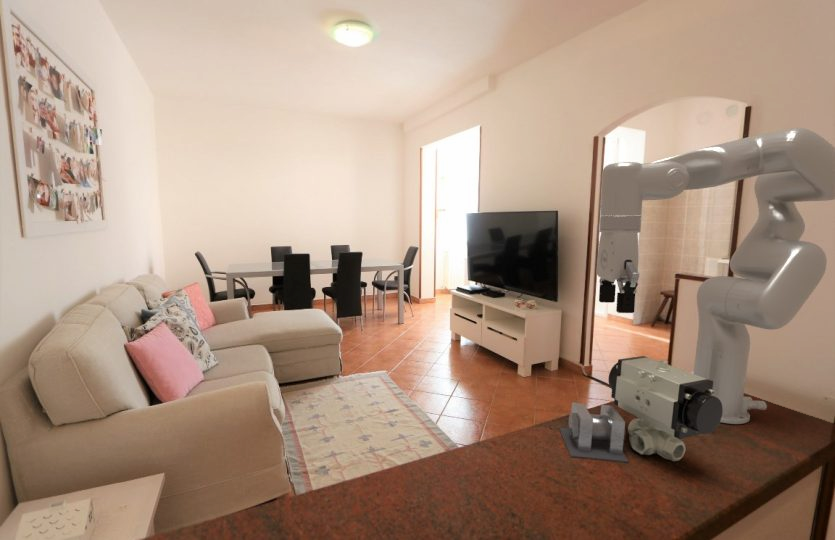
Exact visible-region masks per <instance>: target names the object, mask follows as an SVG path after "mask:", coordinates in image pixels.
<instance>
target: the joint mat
mask: <svg viewBox="0 0 835 540" xmlns="http://www.w3.org/2000/svg"><path fill="white" fill-rule="evenodd" d="M559 432H560V435H561V437H562V439H563V441H564V444H565V447H566V449H567V452H568V454H569V456H570V458H577V459H587V460H588V459H589V460H596V461H606V462H619V463H626V464H629V459H628V458H627V456H626V455H625V453H624V452H623V451H622V455H616V454H609V452H608V450H607V449H606V447H605V445H604V444H603V442H601V441H591V451H590V452H585V451H578V449H577V447H576V445H575V443H574V441H573V439H572V438H571V436H570V432H569V428H565V427H559Z"/></svg>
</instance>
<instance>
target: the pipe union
mask: <svg viewBox="0 0 835 540" xmlns="http://www.w3.org/2000/svg"><path fill="white" fill-rule="evenodd" d="M570 411H571V412H570V413H569V416H568V429H569V432H570V436H571V438H572V439H573V441H574V443H575V445H576V447H577V449H578V451H585V452H590V451H591V441H601V442H603V444H604V445H605V447H606V449H607V450H608V452H609V454H616V455H622V452H623V451H624V450H623V448H624V443H625V440H626V421H625V420H624V419H623V417H622V416H621V415H620V413H619V412H618V410H617V409H616V407H614V405H608V404H607V405H605V404H600V414H594V413H593V414H592V413H590V412H589V410H588V409H587V406H586V405H585V403H582V402H571V410H570Z"/></svg>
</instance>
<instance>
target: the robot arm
mask: <svg viewBox="0 0 835 540" xmlns="http://www.w3.org/2000/svg"><path fill="white" fill-rule="evenodd" d="M601 173H602V175H601V191H600V192H601V194H600V195H601V196H600V213H599V215H600V216H599V233H600V237H599V243H598V249H597V258H596V269H595V270H596V271H595V272H596V276H597V277H598V278H599V293H598V296H599V297H598V302H600V303H608V304H609V303H615V301H616V307H615V308H616V309H615V311H616V313H618V314H621V313H622V314H634V313H635V309H636V308H635V306H636V294H637V287H638V286H639V282H638V281H639V278H640V272H639V235H638V233H641V231H642V230H641V227H642V226H641V225H642V213H643V212H642V211H643V201H659V200H660V201H661V200H662V201H663V200H668V199H673V198H676V197H677V196H679V195H680V194H682V193H683V192H684V191H687V190H688V191H689V190H690V191H693V190H702V189H709V188H715V187H718V186H723V185H726V184H730V183H733V182H734V183H735V182H737V181H740V180H745V179H749V178H752V177H756V179H755V181H754V186H753V187H754V194H755V197H756V202H757V208H758V216H757V220H756V222H755V223H754V225H753V227H752V228H751V229H750V230H749V232H748V233H747V234H746V236H745V237H744V238H743V240H742V241H741V242H740V244H739V246H738V247H737V248H736V250H735V251H734V253H733V255H732V256H731V258H730V261H729V267H730V270H731V272H732V273H733V274H734V275H736V276H737V277H735V276H728V275H727V276H726V275H724V276H723V275H721V276H713V277H710V278H707V279H705V280H704V281H703V282H702V283H701V284H700V286H699V287H698V289H697V292H696V306H697V313H698V329H697V330H698V331H697V339H696V340H697V341H696V350H695V357H694V364H693V365H694V367H693V372H692V374H695V375H697V376H700V377H703V378H706V379H708V380H711V381H713V389H712V390H714V394H713V395H712V396H715V397H717V398H718V399H719V400H720V401H721V403H722V407H723V412H722V417H721V420H720V423H722V424H728V425H729V424H730V425H742V424H746V423H749V422H750V420H751V419H750V418H751V414H750V413H749V411H750V410H752V409H754V410H760V411H761V410H762V411H765V410H767V409H768V405H767V403H766V402H765V400H753V398H752V397H751V396H744V395H745V386H746V377H747V370H748V365H749V355H750V350H751V338H750V333H749V331H748V328H747V326H751V327H756V328H759V329H763V330H771V331H772V330H778V329H782V328H783V327H786V326H787V325H788V324H789V323H790V322H792V320H793V319H794V317H796V315H797V314H798V312H799V311H800V310H801V309H802V307H803V306H804V304H805V303H806V302H807V300H808V299H809V298H810V297H811V295H812V294H813V292H814V291H815V289H816V288H817V287H818V286H819V284H820V282H821V281H822V279H823V277H824V276H825V272H826V271H827V270H826V269H827V255H826V253H825V251H824V250H823V248H822V247H821V246H820V245H818V244H816V243H813V242H811V241H806V240H801V238H802V236H803V235H804V233H805V229H806V225H805V224H806V223H805V221H804V219H803V216H802V215H801V213H800V211H799V210H798V208H797V206H796V204H795V203H797V202H801V203H802V202H824V201H825V202H826V201H827V202H828V201H834V200H835V146H834V145H832V144H831V143H830V142H829V141H828V140H827V139H826V138H824V137H822V136H821V135H820V134H818V133H816V132H814V131H813V130H810V129H808V128H805V127H794V128H788V129H781V130H778V131H772V132H768V133H762V134H758V135H753V136H748V137H744V138H739V139H734V140H732V141H729V142H728V141H727V142H724V143H719V144H714V145H711V146H705V147H703V148H699V149H695V150H694V149H693V150H691V151H688V152H685V153H681V154H678V155H674V156H671V157H666V158H661V159H658V160H655V161H654V160H653V161H649V162H645V163H641V162H640V163H639V162H634V161H626V162H625V161H623V162H614V163H610V164H607V165H606V166H605V167H604V168H603V169H602V171H601ZM615 282H616V283H617V287H618V291H619V292H617V293H616V284H615ZM746 325H747V326H746Z"/></svg>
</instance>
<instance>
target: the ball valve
mask: <svg viewBox="0 0 835 540" xmlns="http://www.w3.org/2000/svg"><path fill="white" fill-rule="evenodd" d="M607 381H608V385H609V387H610V389H611V396H610V397H611V398H612V399H614V401H613V402H614V403H613V404H614V405H613V406H616V407H618V408H620V409H622V410H624V411H626V412H627V413H630V414H631V415H633V416H635V417H637V418H633V419H632V420H631V421H630V422H629V424H628V427H627V431H628V434H629V437H628V438H629V439H628V440H629V443H630V446H631V448H632V449H633V450H634V451H635V452H637V453H639V454H640V455H647V456H651V455H653V454H654V455H655V454H657V455H658V456H659V457H662V458H663V459H665V460H670V461H672V462H679V461H681V460H682V459H683V457H684V455H685V452H686V449H687V448H686V445H685V443H684V441H683V439H686V438H691V437H695V436H698V435H704V436H706V435H709V434H712V433H713V432H714V431H715V430H716V429H717V428H718V426H719V424H720V423H721V422H720V420H721V417H722V412H723V407H722V403H721V401H720V400H719V399H718V398H717V397H715V396H712V395H713V394H714V390H712V389H713V381H711V380H708V379H706V378H703V377H700V376H697V375H695V374H693V372H692V373H691V372H690V371H687V370H684V369H681V368H678V367H675V366H672V365H670V364H669V361H668V360H665V359H658V360H657V359H654V358H650V357H648V356H646V355H641V356H632V357H625V358H619V359H617V363H615V364H614V365H613V366H612V367H611V369H610V371H609V374H608V380H607Z"/></svg>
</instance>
